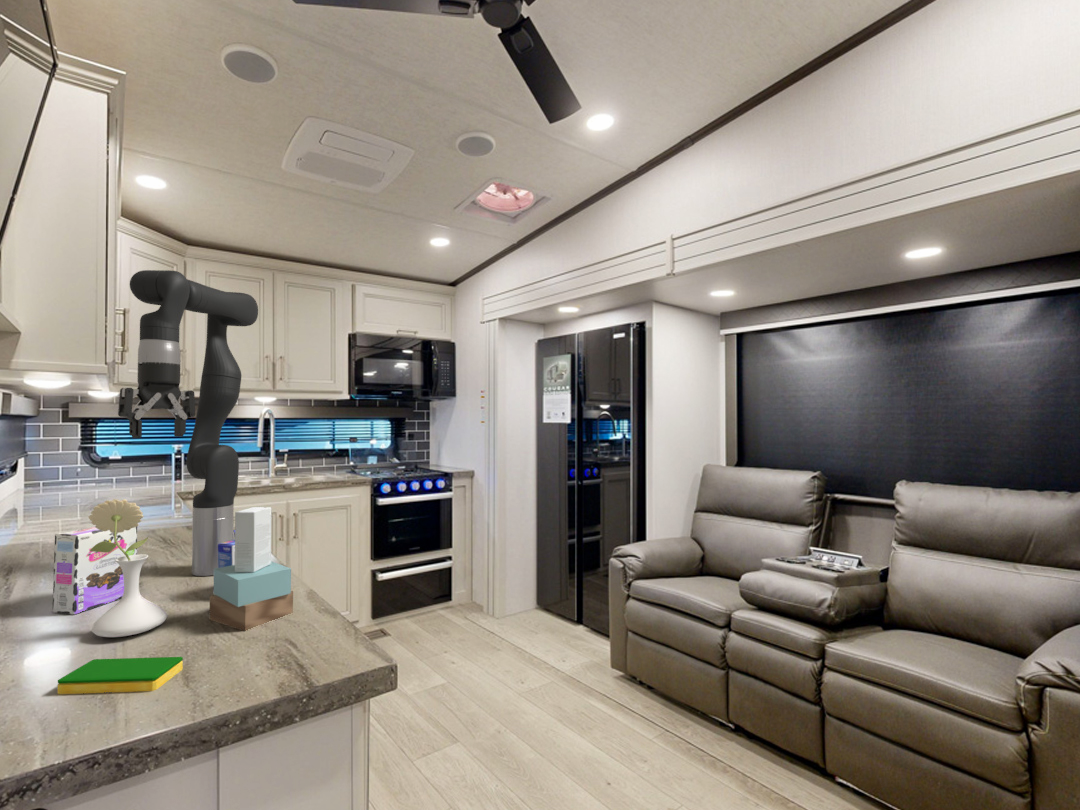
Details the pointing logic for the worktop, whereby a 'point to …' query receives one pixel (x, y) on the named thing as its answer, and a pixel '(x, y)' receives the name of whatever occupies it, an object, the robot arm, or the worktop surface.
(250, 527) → the skincare box
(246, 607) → the tower base block
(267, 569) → the tower top block
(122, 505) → the flower in vase
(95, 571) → the candy box
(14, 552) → the worktop surface
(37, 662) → the worktop surface
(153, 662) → the dish sponge
